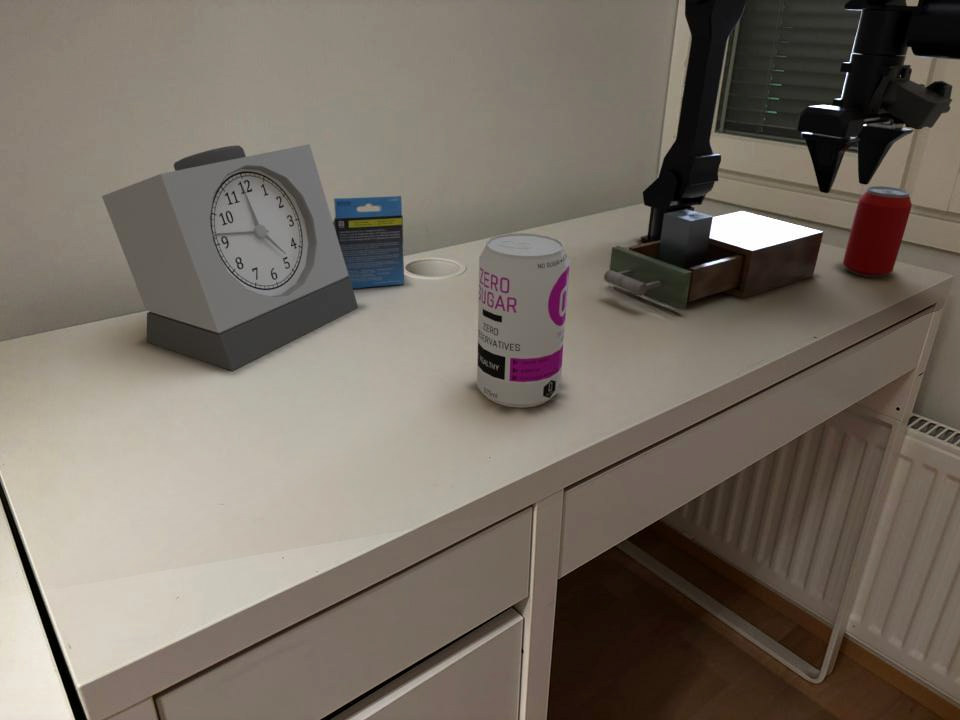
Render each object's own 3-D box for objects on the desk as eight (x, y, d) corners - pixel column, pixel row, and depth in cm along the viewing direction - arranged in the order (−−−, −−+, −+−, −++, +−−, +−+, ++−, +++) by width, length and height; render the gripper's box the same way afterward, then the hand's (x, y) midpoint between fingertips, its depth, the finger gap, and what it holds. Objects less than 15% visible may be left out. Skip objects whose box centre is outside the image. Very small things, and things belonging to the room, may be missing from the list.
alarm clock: (232, 370, 73) (201, 171, 64) (132, 337, 80) (92, 152, 70) (358, 307, 89) (347, 140, 80) (266, 284, 96) (246, 128, 86)
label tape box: (400, 276, 99) (397, 188, 94) (405, 286, 96) (402, 195, 90) (336, 280, 97) (329, 191, 92) (339, 291, 94) (332, 198, 88)
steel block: (655, 275, 96) (663, 213, 92) (677, 269, 98) (686, 208, 94) (681, 284, 92) (690, 221, 89) (702, 278, 95) (713, 216, 91)
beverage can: (880, 265, 108) (902, 186, 102) (899, 280, 102) (924, 197, 96) (834, 263, 108) (854, 184, 103) (850, 277, 102) (872, 194, 97)
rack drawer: (655, 317, 85) (661, 279, 83) (585, 287, 94) (588, 252, 92) (755, 286, 96) (762, 252, 93) (683, 261, 105) (688, 229, 102)
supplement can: (567, 378, 72) (578, 236, 66) (547, 417, 65) (558, 263, 59) (492, 366, 75) (496, 227, 68) (465, 402, 68) (466, 251, 61)
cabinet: (742, 298, 94) (752, 250, 91) (664, 270, 104) (670, 226, 101) (813, 275, 103) (823, 231, 100) (734, 251, 112) (742, 210, 109)
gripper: (909, 61, 72) (868, 212, 79) (988, 57, 82) (945, 192, 89) (809, 54, 80) (779, 192, 87) (892, 51, 90) (859, 175, 97)
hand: (844, 188), depth 90 cm, fingers open, 9 cm apart
